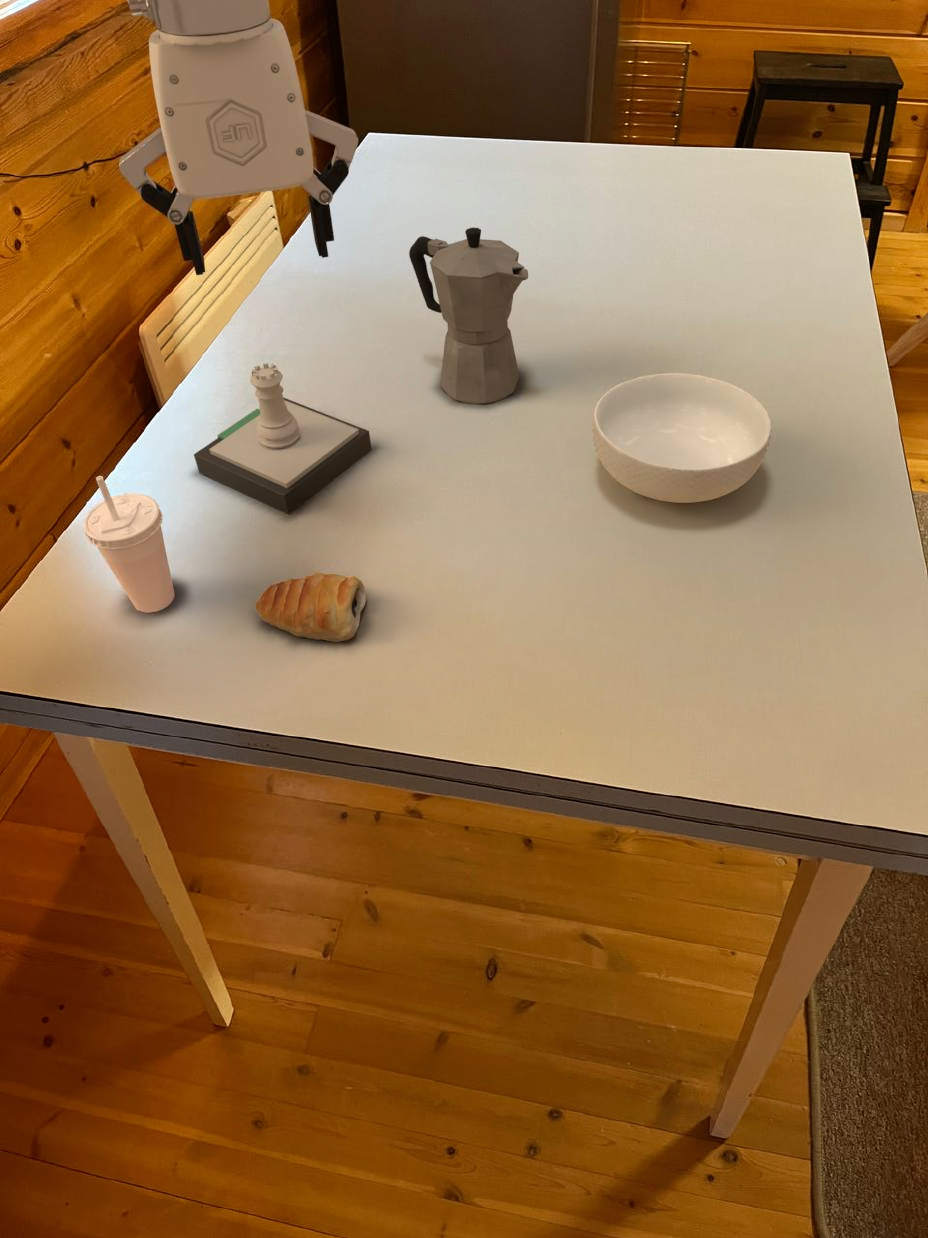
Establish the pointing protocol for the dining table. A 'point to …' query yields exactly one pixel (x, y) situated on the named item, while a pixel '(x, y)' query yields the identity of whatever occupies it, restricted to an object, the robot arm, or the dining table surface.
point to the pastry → (315, 606)
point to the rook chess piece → (273, 409)
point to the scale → (284, 457)
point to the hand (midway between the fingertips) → (261, 258)
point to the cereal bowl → (680, 436)
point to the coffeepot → (473, 312)
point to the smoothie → (132, 546)
